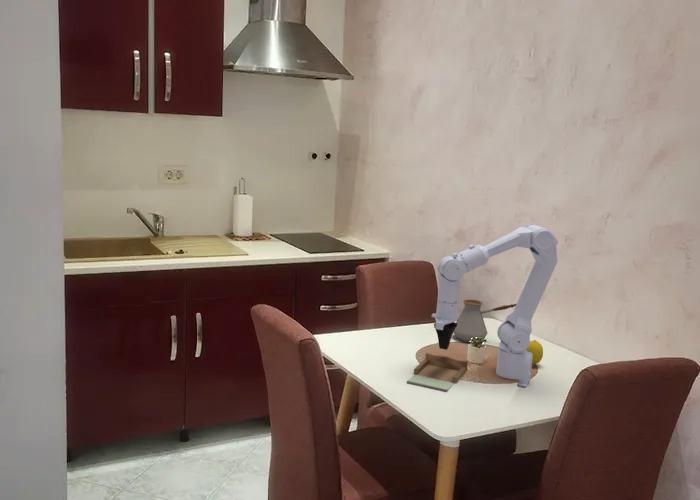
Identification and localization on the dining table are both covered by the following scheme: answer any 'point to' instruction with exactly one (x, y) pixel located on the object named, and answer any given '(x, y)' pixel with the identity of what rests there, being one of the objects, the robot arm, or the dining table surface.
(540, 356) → the lemon
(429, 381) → the panel
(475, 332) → the coffee pot
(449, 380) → the tray
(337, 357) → the dining table surface
